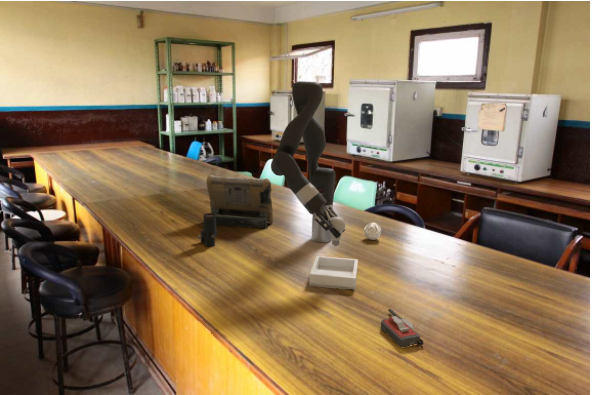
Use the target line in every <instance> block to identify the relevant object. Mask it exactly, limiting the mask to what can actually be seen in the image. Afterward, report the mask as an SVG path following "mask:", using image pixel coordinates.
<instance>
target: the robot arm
mask: <svg viewBox="0 0 592 395" xmlns="http://www.w3.org/2000/svg"><path fill="white" fill-rule="evenodd" d="M291 95H292V97H291V98H292V101H293V105H294V109H295V112H296V114H297V115H296V116H295V117H293V119H291V120H290V121H289V122H288V123H287V125H286V127H285V128H284V130H283V133H282V135H281V139H280V140H279V145H278V147H277V149H276V152H275V153H274V156H273V158H272V160H271V164H270V169H271V172H272V173H273V174H274V175H276V176H279V177H282V176H283V177H284V178H285V179H286V186H287V187H288V188H289V189H290V191H291V192H292V193H293V194H294V195H295V197H296V199H297V200H298V201H299V203H301V204H302V206H303V207H304V208H305V210H306V211H307V212H308V213H309V214H310V215H311V240H312V241H313V242H318V243H328V242H332V236H331V233H332V234H333V235H334V237H335V238H338V237H340V236H341V237H342V234H343V233H344V232H346V228H345V229H344V231H343V232H342V234H340V232H339V231H338V230H336V229H335V228H334V225H333V224H332V219H331V218H333V217H339V216H338V214H337V213H336V212H335V211H334V199H335V189H336V188H335V187H336V178H337V176H336V171H335V169H333V168H327V167H320V166H319V160H320V157H321V156H322V154H323V152H324V150H325V149H326V146H327V142H326V141H327V140H326V136H325V134H326V133H325V130H324V128H323V126H322V125H321V124H320V121H318V120H317V119H316V118H315V114H316V111H317V110H318V109H319V107H320V104H321V102H322V100H323V95H324V90H323V86H322V84H321V83H320V82H316V81H306V80H305V81H303V80H302V81H296V82H294V83H293V85H292V89H291ZM302 140H303V146H304V149H305V156H306V159H307V167H308V176H309V177H308V178H309V179H308V178H307V176H305V175H304V174H303V172H302V170H301V168H300V166H299V165H298V163H297V162H296V159H294V156H295V154H296V152H297V150H298V149H299V146H300V145H301V144H300V143H301V141H302ZM318 189H324V192H323V193H320V191H319V190H318ZM329 223H330V224H329ZM341 237H340V238H341Z"/></svg>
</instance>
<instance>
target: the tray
mask: <svg viewBox="0 0 592 395" xmlns="http://www.w3.org/2000/svg"><path fill="white" fill-rule="evenodd" d="M358 266H359V258H358V259H357V258H348V257H346V258H345V257H334V256H325V255H323V256H322V255H316V256H315V259H314V262H313V265H312V268H311V270H310V272H309V281H308V282H309V285H308V286H309V287H318V288H328V289H336V288H339V290H346V289H353V290H352V291H356V284H357V276H358Z"/></svg>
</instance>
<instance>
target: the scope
mask: <svg viewBox="0 0 592 395" xmlns="http://www.w3.org/2000/svg"><path fill="white" fill-rule="evenodd" d="M202 218H203V221H202V222H203V223H202V224H203V226H202V227H203V228H202V229H201V230H200V234H199V235H197V239H199V240H200V243H201V244H204V245H205V247H207V248H213V247H215V246H216V240H215V239H216V237H217V236H218V235H217V234H218V231H217V225H216V219H215V218H216V214H214V213H211V212H209V213H207V212H206V213H204V214H203V215H202Z"/></svg>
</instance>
